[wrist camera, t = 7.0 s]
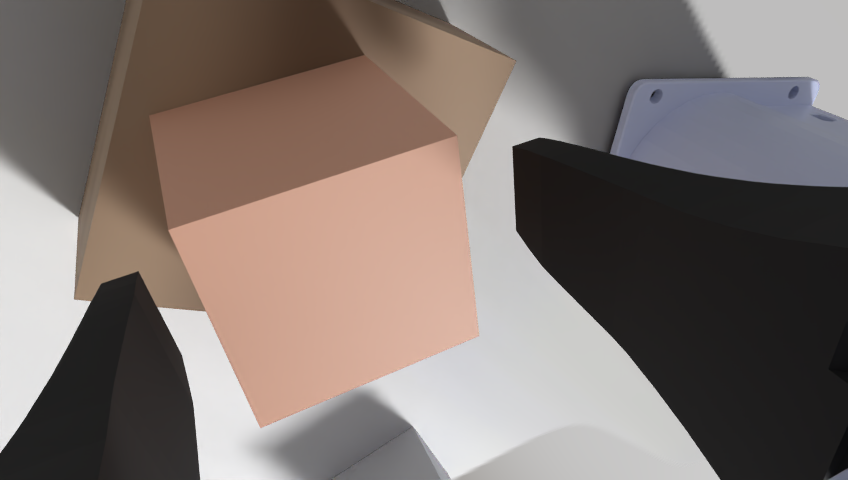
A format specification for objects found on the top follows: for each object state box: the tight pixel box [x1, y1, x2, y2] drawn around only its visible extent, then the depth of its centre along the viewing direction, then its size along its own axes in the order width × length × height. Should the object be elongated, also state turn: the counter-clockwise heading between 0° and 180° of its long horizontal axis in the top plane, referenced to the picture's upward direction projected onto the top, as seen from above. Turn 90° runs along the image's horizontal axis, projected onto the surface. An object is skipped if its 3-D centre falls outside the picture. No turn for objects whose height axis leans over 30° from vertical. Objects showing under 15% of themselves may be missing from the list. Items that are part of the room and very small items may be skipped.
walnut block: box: [74, 0, 516, 311], centre depth 16 cm, size 8×8×4 cm
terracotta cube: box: [149, 55, 479, 428], centre depth 12 cm, size 4×4×4 cm
